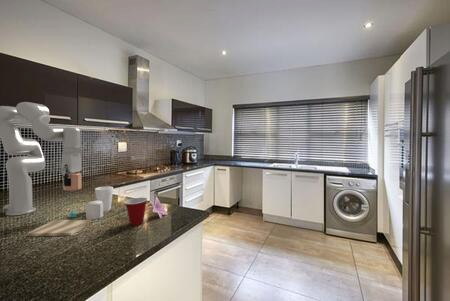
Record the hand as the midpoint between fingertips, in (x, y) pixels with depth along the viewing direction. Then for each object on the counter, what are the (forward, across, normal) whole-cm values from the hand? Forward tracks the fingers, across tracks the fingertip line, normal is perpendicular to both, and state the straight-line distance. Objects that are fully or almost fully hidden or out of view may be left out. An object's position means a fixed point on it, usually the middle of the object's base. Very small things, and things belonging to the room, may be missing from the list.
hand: (72, 184), depth 115 cm
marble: (+16, 0, 0) cm, 16 cm away
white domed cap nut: (+18, 0, +11) cm, 21 cm away
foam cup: (+18, -13, +10) cm, 24 cm away
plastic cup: (+18, +10, +36) cm, 42 cm away
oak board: (+18, +15, +4) cm, 24 cm away
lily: (+18, 0, +44) cm, 48 cm away
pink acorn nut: (+2, 0, 0) cm, 2 cm away
